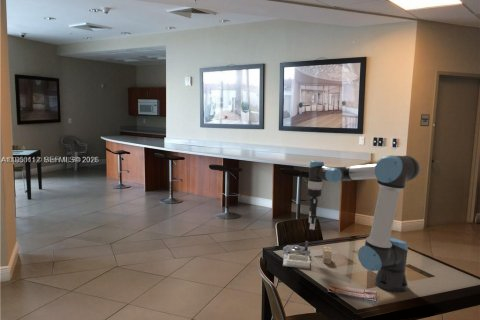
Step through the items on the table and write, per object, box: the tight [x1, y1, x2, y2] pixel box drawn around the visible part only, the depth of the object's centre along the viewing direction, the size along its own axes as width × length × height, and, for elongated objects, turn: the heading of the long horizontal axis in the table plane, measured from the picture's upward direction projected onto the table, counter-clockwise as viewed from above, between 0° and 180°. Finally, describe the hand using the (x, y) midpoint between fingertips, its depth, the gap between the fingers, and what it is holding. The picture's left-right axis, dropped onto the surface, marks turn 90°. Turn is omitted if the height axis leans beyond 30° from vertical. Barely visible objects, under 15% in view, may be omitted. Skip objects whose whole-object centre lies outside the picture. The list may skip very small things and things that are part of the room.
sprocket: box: [282, 240, 311, 256], centre depth 223 cm, size 16×16×7 cm
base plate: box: [282, 246, 311, 270], centre depth 218 cm, size 30×14×3 cm, turn 171°
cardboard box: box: [322, 246, 333, 265], centre depth 215 cm, size 7×4×7 cm, turn 172°
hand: (311, 225), depth 215 cm, fingers open, 13 cm apart
